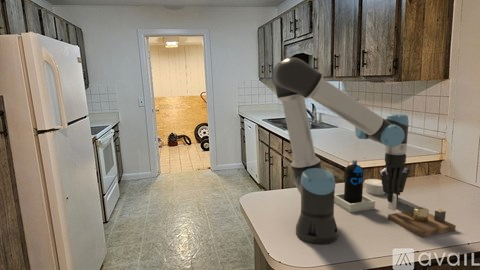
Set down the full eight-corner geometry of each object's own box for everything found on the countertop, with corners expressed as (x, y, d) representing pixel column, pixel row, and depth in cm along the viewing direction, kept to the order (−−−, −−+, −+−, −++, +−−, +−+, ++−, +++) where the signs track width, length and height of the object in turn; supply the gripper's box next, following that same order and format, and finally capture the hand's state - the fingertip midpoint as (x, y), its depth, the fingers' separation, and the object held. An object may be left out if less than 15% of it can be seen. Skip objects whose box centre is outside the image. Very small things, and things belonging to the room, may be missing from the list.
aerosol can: (339, 201, 142) (341, 159, 139) (353, 198, 145) (355, 157, 142) (351, 207, 134) (353, 163, 131) (366, 204, 137) (368, 161, 134)
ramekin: (390, 196, 150) (391, 186, 149) (366, 195, 152) (367, 185, 151) (383, 188, 161) (384, 179, 160) (361, 188, 163) (362, 178, 162)
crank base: (421, 237, 110) (422, 221, 109) (387, 219, 125) (388, 204, 124) (455, 230, 114) (456, 214, 113) (418, 213, 129) (420, 199, 128)
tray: (349, 212, 132) (349, 204, 131) (332, 201, 144) (332, 194, 143) (374, 208, 135) (375, 201, 135) (355, 198, 148) (355, 191, 147)
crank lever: (431, 220, 117) (432, 210, 117) (421, 222, 116) (421, 212, 115) (398, 205, 133) (399, 196, 132) (389, 207, 131) (389, 198, 131)
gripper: (387, 156, 117) (384, 214, 121) (416, 153, 120) (412, 211, 124) (375, 152, 124) (372, 207, 128) (402, 149, 127) (399, 204, 131)
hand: (392, 209), depth 126 cm, fingers closed
